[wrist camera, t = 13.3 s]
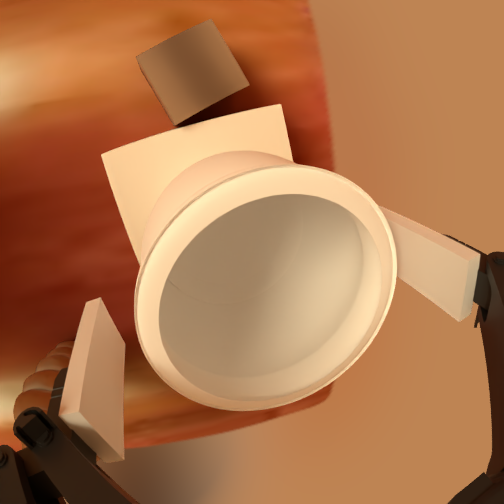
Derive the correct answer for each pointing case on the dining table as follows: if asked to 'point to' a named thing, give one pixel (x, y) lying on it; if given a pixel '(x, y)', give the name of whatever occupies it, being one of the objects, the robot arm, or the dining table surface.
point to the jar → (260, 280)
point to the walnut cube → (191, 71)
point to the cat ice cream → (44, 380)
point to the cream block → (185, 158)
